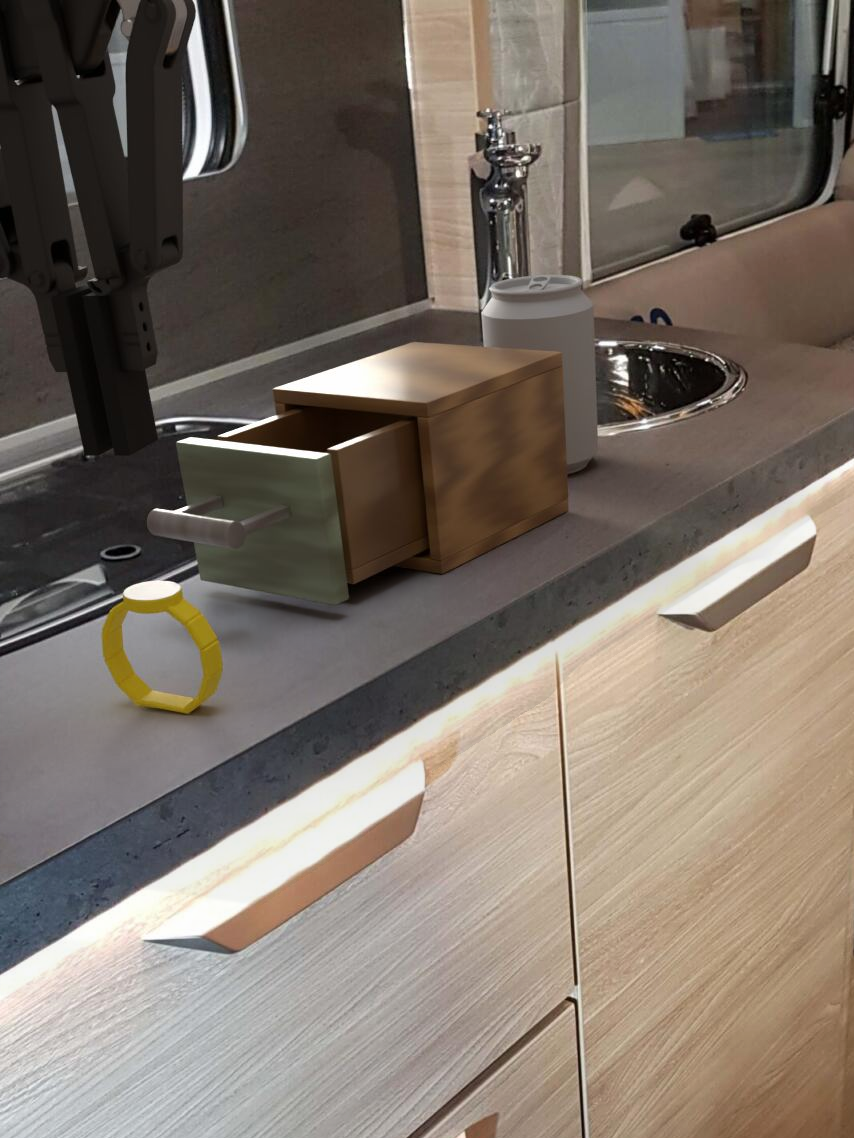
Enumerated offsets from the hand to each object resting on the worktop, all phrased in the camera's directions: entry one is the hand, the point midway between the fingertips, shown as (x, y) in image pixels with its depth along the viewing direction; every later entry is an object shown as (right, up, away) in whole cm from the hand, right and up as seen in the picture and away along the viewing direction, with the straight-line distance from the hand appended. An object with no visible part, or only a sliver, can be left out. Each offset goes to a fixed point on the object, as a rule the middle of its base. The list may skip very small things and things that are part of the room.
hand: (121, 446), depth 70 cm
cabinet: (+13, +5, +28) cm, 32 cm away
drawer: (+6, 0, +20) cm, 21 cm away
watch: (+1, -11, +7) cm, 13 cm away
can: (+20, +13, +39) cm, 46 cm away
